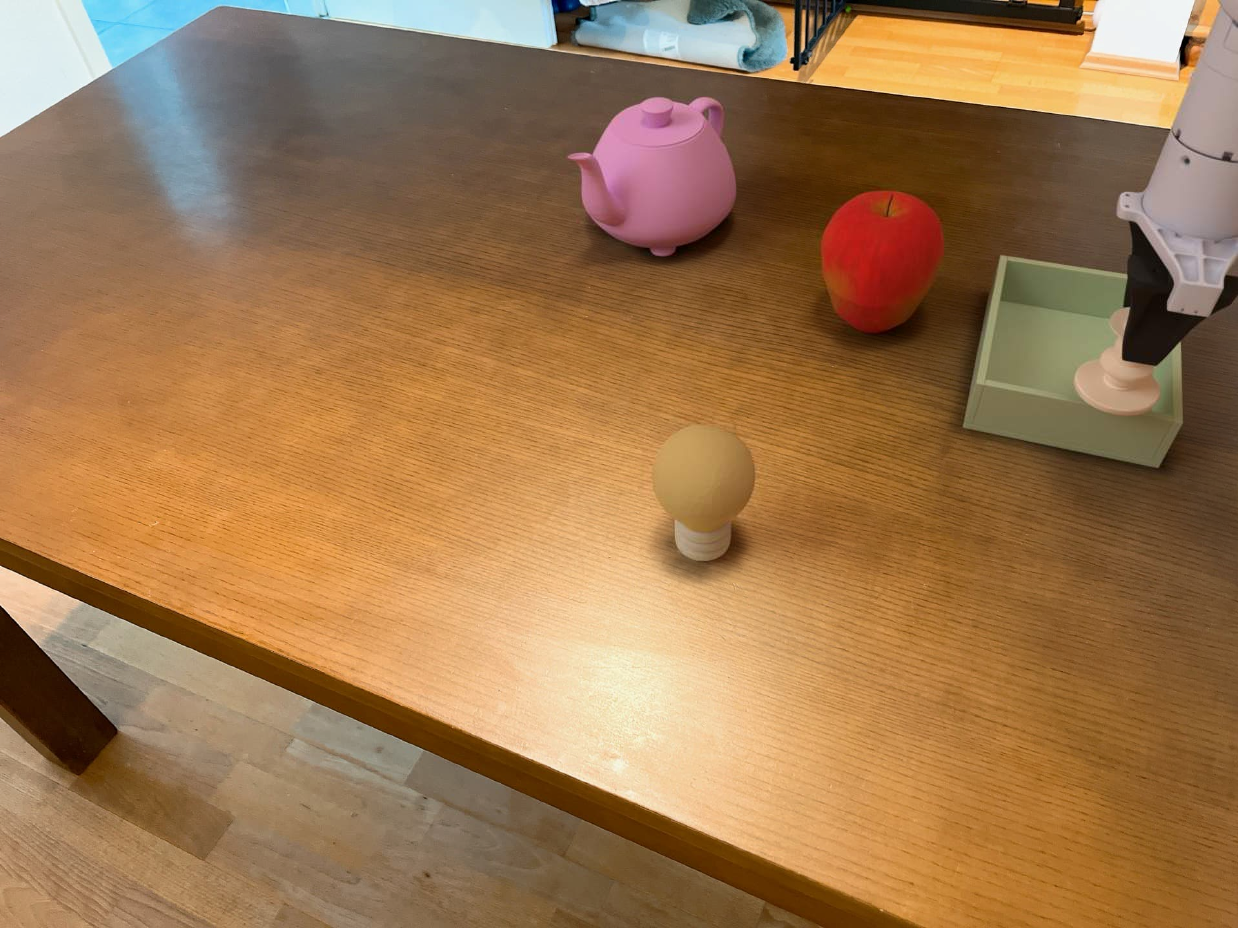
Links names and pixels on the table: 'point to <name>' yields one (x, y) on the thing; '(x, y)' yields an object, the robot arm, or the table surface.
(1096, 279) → the open box
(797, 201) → the table surface
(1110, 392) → the candle
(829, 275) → the apple
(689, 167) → the teapot
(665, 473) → the light bulb
